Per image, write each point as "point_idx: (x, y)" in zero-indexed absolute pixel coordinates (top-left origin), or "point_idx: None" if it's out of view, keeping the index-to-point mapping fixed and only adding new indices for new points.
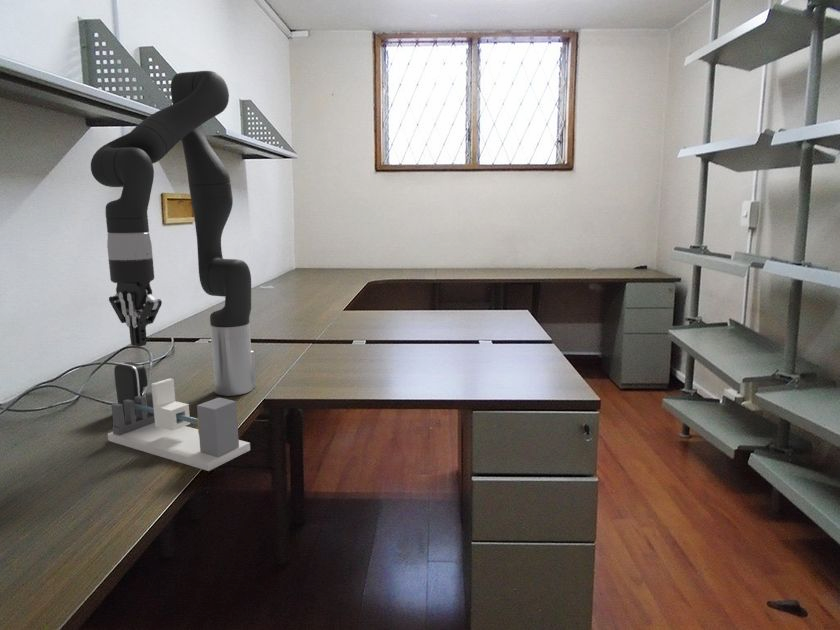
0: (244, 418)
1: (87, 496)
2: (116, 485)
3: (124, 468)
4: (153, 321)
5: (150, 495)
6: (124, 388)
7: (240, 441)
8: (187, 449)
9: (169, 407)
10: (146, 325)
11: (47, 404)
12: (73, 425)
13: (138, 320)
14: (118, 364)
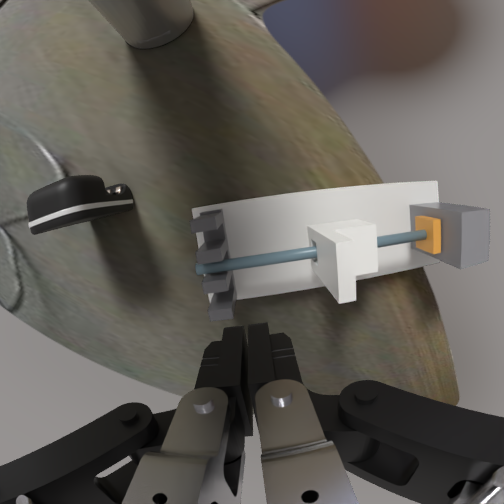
0: (314, 84)
1: (363, 376)
2: (370, 349)
3: (337, 327)
4: (388, 385)
5: (418, 332)
6: (81, 221)
7: (425, 184)
8: (389, 254)
9: (359, 263)
10: (292, 382)
11: (10, 274)
12: (100, 296)
13: (344, 467)
14: (32, 228)
